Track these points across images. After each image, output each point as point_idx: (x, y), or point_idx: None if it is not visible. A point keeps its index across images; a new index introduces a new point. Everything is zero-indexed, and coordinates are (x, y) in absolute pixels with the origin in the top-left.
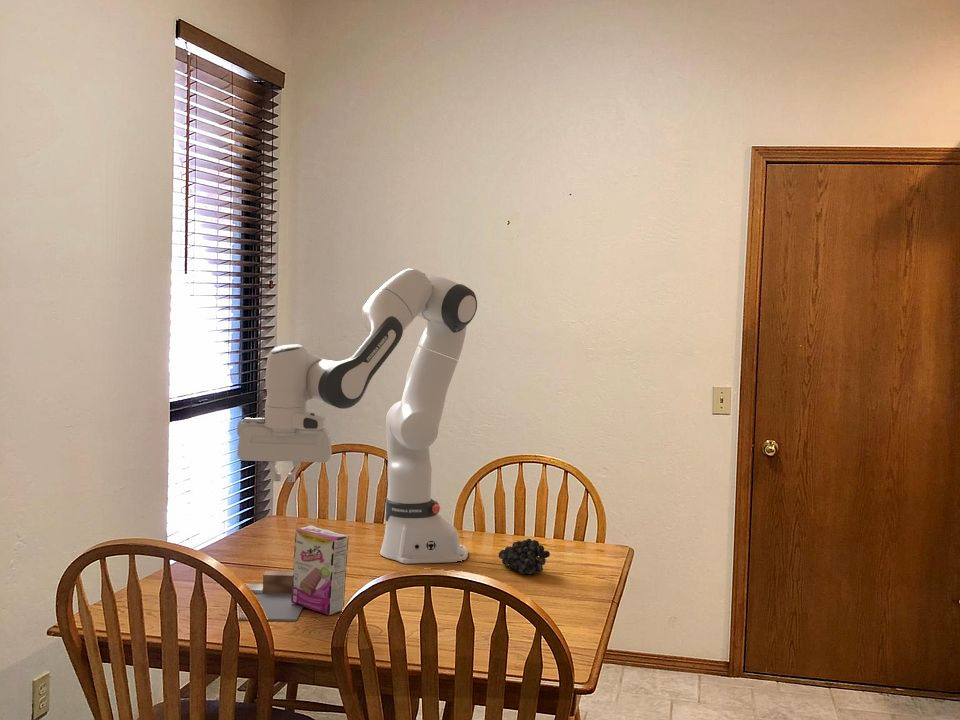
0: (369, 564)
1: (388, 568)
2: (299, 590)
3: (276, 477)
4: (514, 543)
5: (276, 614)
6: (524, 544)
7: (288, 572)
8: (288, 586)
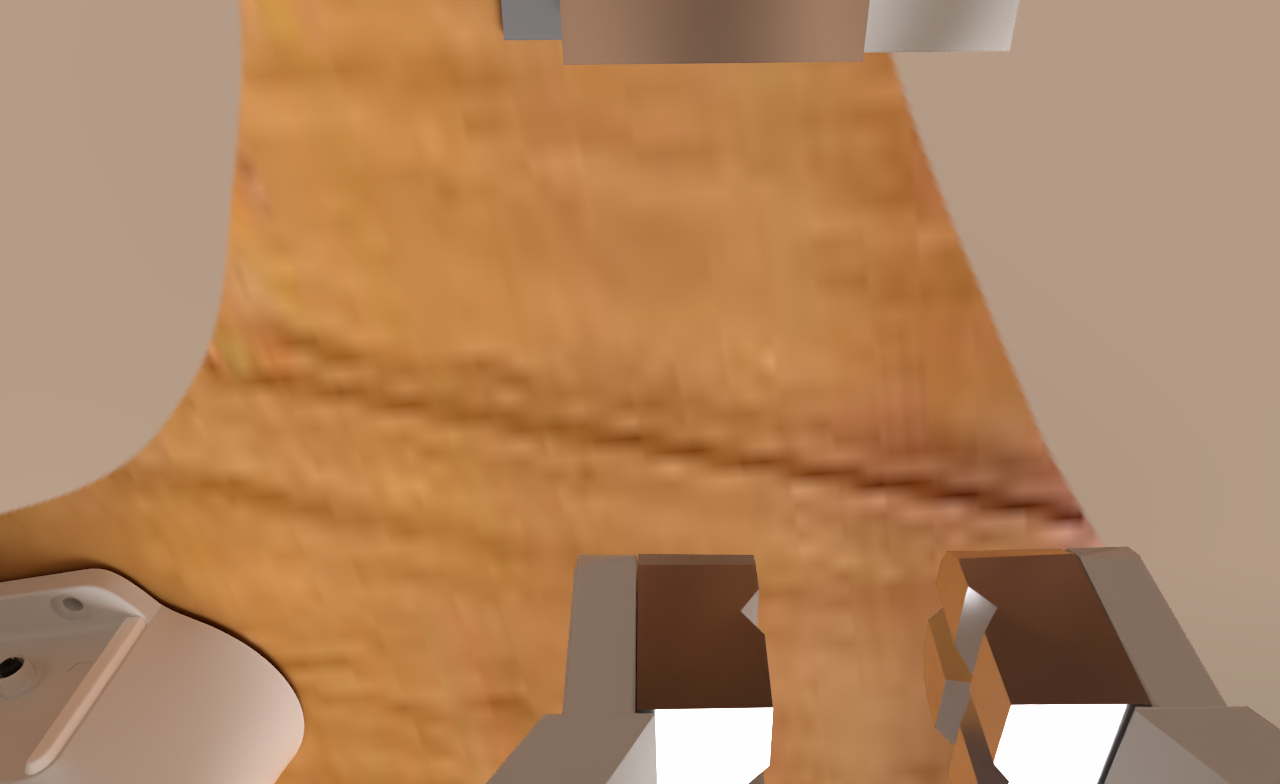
0: (295, 550)
1: (163, 499)
2: None
3: (1086, 613)
4: None
5: None
6: None
7: (669, 36)
8: None
